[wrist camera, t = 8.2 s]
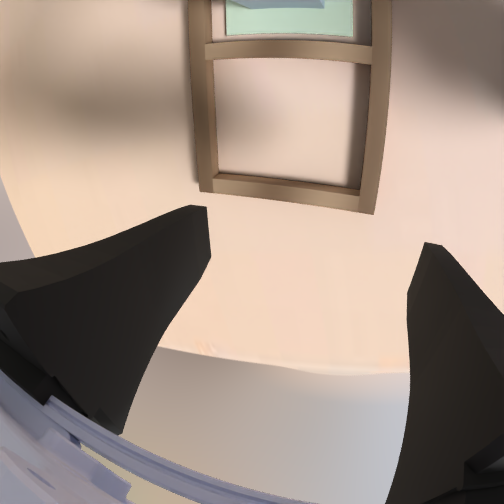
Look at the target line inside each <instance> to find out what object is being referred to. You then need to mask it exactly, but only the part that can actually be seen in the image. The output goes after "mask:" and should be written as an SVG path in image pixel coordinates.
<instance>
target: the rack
mask: <svg viewBox="0 0 504 504" xmlns="http://www.w3.org/2000/svg"><path fill="white" fill-rule="evenodd" d="M324 6H325V9H319V8H267V9H250V8H248V7H245V6H243V5H241V4H239V3H237V2H234V1H232V0H226V30H227V36H229V35H243V34H268V33H296V34H321V35H335V36H346V37H353V4H352V0H324ZM188 24H189V51H190V71H191V89H192V105H193V119H194V132H195V145H196V157H197V168H198V179H199V189H200V192H208V193H217V194H227V195H236V196H245V197H253V198H261V199H269V200H277V201H285V202H292V203H300V204H307V205H314V206H321V207H327V208H334V209H340V210H347V211H353V212H359V213H365V214H371V215H374V210H375V205H376V199H377V193H378V187H379V181H380V174H381V167H382V160H383V152H384V144H385V136H386V126H387V116H388V105H389V92H390V76H391V51H392V5H391V0H371V46H364V45H356V44H347V43H336V42H323V41H304V40H254V41H234V42H221V43H212V13H211V0H188ZM235 58H303V59H320V60H332V61H343V62H352V63H360V64H367V65H371V72H370V91H369V107H368V119H367V131H366V141H365V151H364V160H363V168H362V176H361V184H360V190H356V189H349V188H343V187H336V186H329V185H322V184H315V183H307V182H299V181H291V180H283V179H274V178H264V177H255V176H244V175H233V174H221V173H219V168H218V152H217V134H216V116H215V96H214V73H213V60H218V59H235Z"/></svg>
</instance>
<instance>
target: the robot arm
mask: <svg viewBox="0 0 504 504" xmlns="http://www.w3.org/2000/svg"><path fill="white" fill-rule="evenodd" d="M210 258H211V249H210V239H209V228H208V218H207V207H204V206H196V205H188V206H184V207H181V208H178V209H176V210H173V211H171V212H168V213H166V214H163V215H161V216H159V217H156V218H154V219H152V220H149V221H147V222H145V223H143V224H140V225H138V226H135V227H133V228H130V229H128V230H126V231H123V232H121V233H118V234H116V235H113V236H111V237H108V238H106V239H103V240H100V241H97V242H94V243H91V244H88V245H85V246H82V247H78V248H74V249H71V250H67V251H63V252H60V253H56V254H52V255H47V256H42V257H37V258H31V259H26V260H20V261H10V262H1V263H0V504H135V503H133V502H132V501H130V500H128V499H126V495H127V493H128V492H129V490H130V488H131V484H130V483H129V482H127V481H126V480H124V479H123V478H121V477H119V476H118V475H116V474H115V473H113V472H112V471H110V470H109V469H108V468H106V467H105V466H104V465H102V464H101V463H100V462H99V461H97V460H96V459H94V458H93V457H91V456H90V455H88V454H87V453H85V452H84V451H83V450H81V445H80V443H82V444H83V445H85V446H86V447H88V448H90V449H91V450H93V451H95V452H96V453H98V454H99V455H101V456H103V457H104V458H106V459H108V460H109V461H111V462H113V463H115V464H116V465H118V466H120V467H122V468H123V469H126V470H127V471H129V472H131V473H133V474H135V475H137V476H139V477H141V478H143V479H145V480H147V481H149V482H151V483H153V484H155V485H157V486H159V487H162V488H164V489H166V490H169V491H171V492H173V493H175V494H178V495H180V496H183V497H185V498H188V499H190V500H193V501H195V502H198V503H201V504H316V503H311V502H305V501H300V500H294V499H290V498H285V497H280V496H276V495H271V494H268V493H264V492H260V491H256V490H252V489H248V488H245V487H242V486H238V485H235V484H232V483H228V482H225V481H222V480H219V479H216V478H213V477H210V476H207V475H205V474H202V473H199V472H197V471H194V470H191V469H189V468H186V467H183V466H181V465H179V464H176V463H173V462H171V461H169V460H167V459H165V458H162V457H160V456H158V455H156V454H153V453H151V452H149V451H147V450H145V449H143V448H141V447H139V446H137V445H134V444H133V443H131V442H129V441H127V440H125V439H123V438H121V437H119V436H117V435H119V434H122V432H123V429H124V425H125V422H126V419H127V416H128V413H129V410H130V407H131V405H132V402H133V399H134V396H135V394H136V392H137V389H138V386H139V384H140V382H141V379H142V377H143V374H144V372H145V370H146V368H147V365H148V364H149V361H150V359H151V357H152V355H153V353H154V351H155V349H156V347H157V345H158V343H159V341H160V339H161V337H162V336H163V334H164V332H165V331H166V329H167V327H168V326H169V324H170V323H171V321H172V320H173V318H174V317H175V315H176V314H177V312H178V311H179V310H180V308H181V307H182V305H183V304H184V302H185V301H186V299H187V298H188V297H189V295H190V294H191V292H192V291H193V289H194V288H195V286H196V285H197V283H198V282H199V280H200V279H201V277H202V275H203V273H204V271H205V269H206V267H207V265H208V262H209V260H210ZM407 329H408V343H409V358H410V396H409V406H408V414H407V421H406V427H405V433H404V438H403V443H402V448H401V452H400V456H399V461H398V465H397V469H396V472H395V476H394V479H393V482H392V485H391V488H390V491H389V494H388V497H387V500H386V503H385V504H504V315H503V314H502V312H501V311H500V310H499V309H498V308H497V307H496V306H495V305H494V304H493V302H492V301H491V300H490V299H489V298H488V297H487V296H486V295H485V293H484V292H483V291H482V290H481V289H480V288H479V286H478V285H477V284H476V283H475V282H474V281H473V279H472V278H471V277H470V276H469V275H468V273H467V272H466V271H465V270H464V269H463V267H462V266H461V265H460V264H459V263H458V262H457V261H456V259H455V258H454V257H453V256H452V255H451V254H450V253H449V252H448V251H447V250H446V249H445V248H444V247H443V246H442V245H437V244H432V243H427V242H425V243H424V246H423V249H422V252H421V255H420V258H419V261H418V264H417V267H416V270H415V273H414V276H413V278H412V281H411V284H410V287H409V289H408V292H407Z"/></svg>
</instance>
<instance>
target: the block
mask: <svg viewBox="0 0 504 504" xmlns="http://www.w3.org/2000/svg"><path fill="white" fill-rule="evenodd" d="M232 1H234V2H237V3H239V4H241V5H243V6H245V7H248V8H250V9H267V8H319V9H325V6H324V0H232Z"/></svg>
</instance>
